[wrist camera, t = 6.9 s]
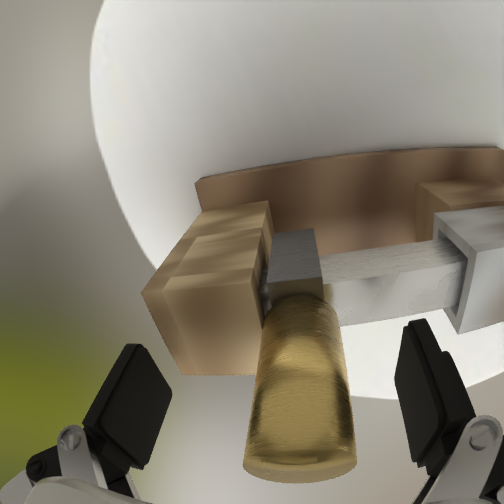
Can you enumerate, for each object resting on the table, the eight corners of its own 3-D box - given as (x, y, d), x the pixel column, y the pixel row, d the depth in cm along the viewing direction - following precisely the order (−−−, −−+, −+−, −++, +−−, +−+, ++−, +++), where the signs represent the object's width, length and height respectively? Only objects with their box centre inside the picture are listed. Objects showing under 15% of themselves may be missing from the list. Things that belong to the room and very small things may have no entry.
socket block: (268, 200, 19) (250, 282, 10) (280, 267, 21) (273, 373, 12) (202, 211, 19) (141, 292, 11) (220, 274, 22) (182, 374, 13)
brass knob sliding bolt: (476, 208, 12) (604, 327, 3) (468, 276, 14) (552, 409, 5) (214, 242, 15) (127, 423, 6) (234, 309, 17) (189, 482, 8)
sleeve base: (497, 147, 15) (593, 189, 6) (490, 249, 19) (558, 323, 10) (200, 178, 20) (126, 244, 10) (230, 286, 24) (196, 393, 14)
